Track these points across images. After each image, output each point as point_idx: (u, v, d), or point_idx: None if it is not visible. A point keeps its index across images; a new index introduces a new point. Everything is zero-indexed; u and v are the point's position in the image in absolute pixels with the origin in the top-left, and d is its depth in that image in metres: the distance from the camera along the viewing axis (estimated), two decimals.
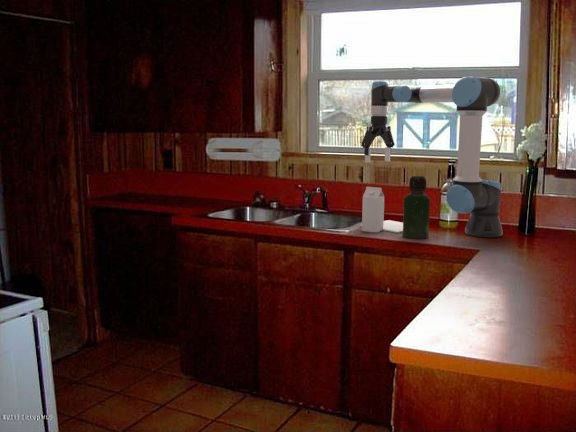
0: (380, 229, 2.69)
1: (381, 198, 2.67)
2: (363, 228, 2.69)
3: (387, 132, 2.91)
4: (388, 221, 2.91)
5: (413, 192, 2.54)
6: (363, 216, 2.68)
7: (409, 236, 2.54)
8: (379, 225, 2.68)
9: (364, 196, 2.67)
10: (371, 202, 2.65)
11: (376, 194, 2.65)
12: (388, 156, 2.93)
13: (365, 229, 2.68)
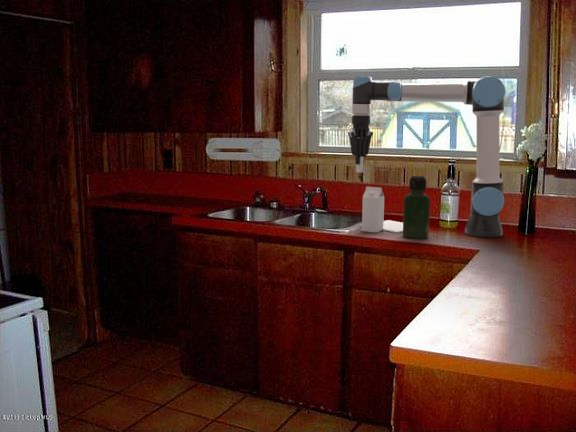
0: (380, 229, 2.69)
1: (381, 198, 2.67)
2: (363, 228, 2.69)
3: (367, 136, 2.61)
4: (388, 221, 2.91)
5: (413, 192, 2.54)
6: (363, 216, 2.68)
7: (409, 236, 2.54)
8: (379, 225, 2.68)
9: (364, 196, 2.67)
10: (371, 202, 2.65)
11: (376, 194, 2.65)
12: None
13: (365, 229, 2.68)
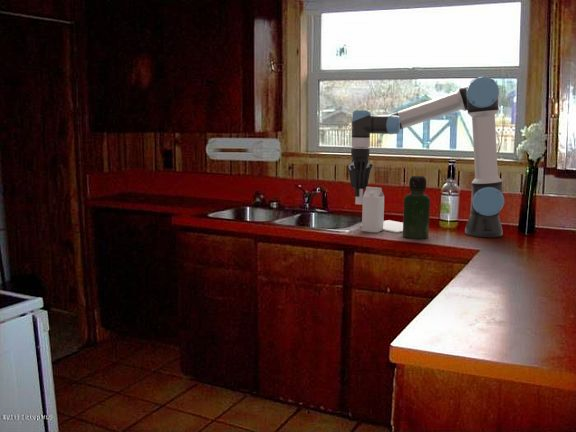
0: (380, 229, 2.69)
1: (381, 198, 2.67)
2: (363, 228, 2.69)
3: (366, 169, 2.63)
4: (388, 221, 2.91)
5: (413, 192, 2.54)
6: (363, 216, 2.68)
7: (409, 236, 2.54)
8: (379, 225, 2.68)
9: (364, 196, 2.67)
10: (371, 202, 2.65)
11: (376, 194, 2.65)
12: None
13: (365, 229, 2.68)
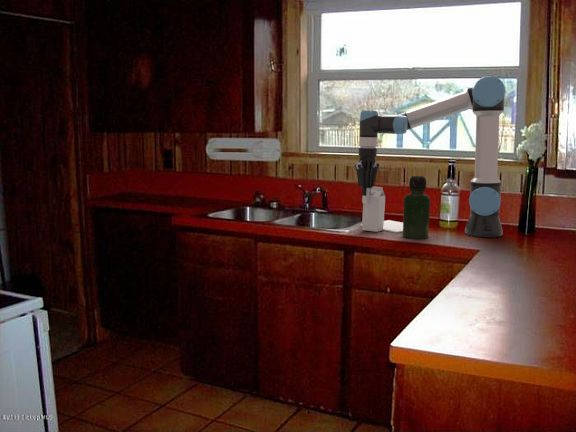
0: (380, 229, 2.69)
1: (382, 197, 2.67)
2: (363, 227, 2.69)
3: (373, 168, 2.66)
4: (388, 221, 2.91)
5: (413, 192, 2.54)
6: (363, 215, 2.68)
7: (409, 236, 2.54)
8: (379, 225, 2.68)
9: None
10: (372, 201, 2.66)
11: (377, 193, 2.66)
12: None
13: (365, 228, 2.68)
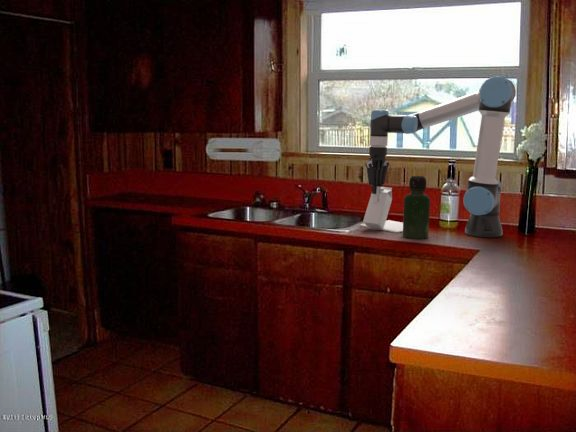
0: (381, 225, 2.69)
1: (389, 197, 2.73)
2: (365, 219, 2.70)
3: (383, 167, 2.70)
4: (388, 221, 2.91)
5: (413, 192, 2.54)
6: (368, 208, 2.71)
7: (409, 236, 2.54)
8: (381, 220, 2.69)
9: None
10: (379, 196, 2.71)
11: (386, 191, 2.73)
12: None
13: (367, 220, 2.69)
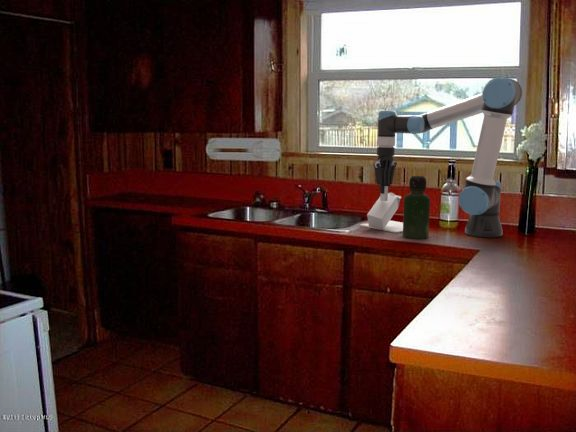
0: (383, 223, 2.70)
1: (396, 203, 2.77)
2: (370, 213, 2.71)
3: (391, 167, 2.73)
4: None
5: (413, 192, 2.54)
6: (375, 205, 2.73)
7: (409, 236, 2.54)
8: (385, 219, 2.70)
9: None
10: (388, 198, 2.75)
11: None
12: None
13: (371, 214, 2.70)
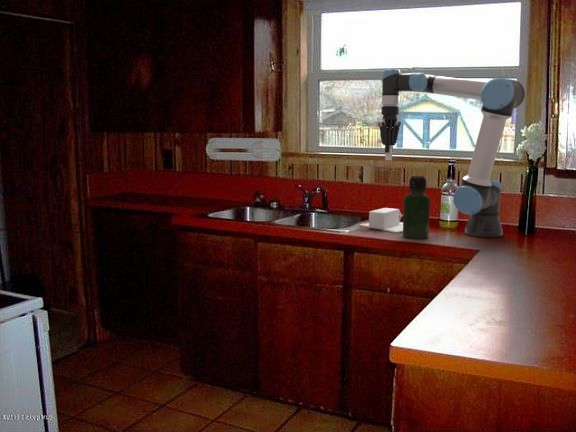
0: (384, 221, 2.71)
1: (398, 217, 2.82)
2: (372, 211, 2.75)
3: (395, 126, 2.75)
4: None
5: (413, 192, 2.54)
6: None
7: (409, 236, 2.54)
8: (386, 218, 2.73)
9: None
10: (391, 209, 2.82)
11: None
12: None
13: (373, 211, 2.74)
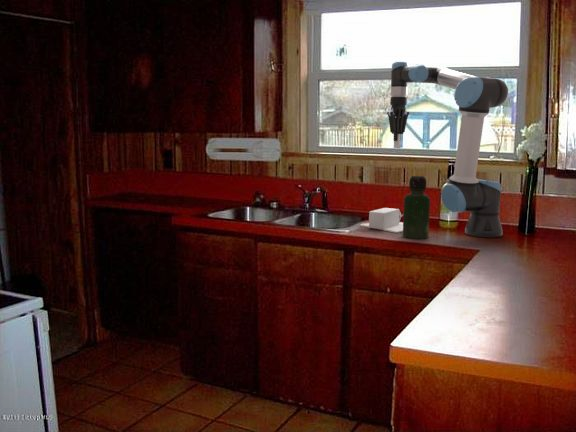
0: (384, 221, 2.71)
1: (398, 217, 2.82)
2: (372, 211, 2.75)
3: (404, 116, 2.91)
4: None
5: (413, 192, 2.54)
6: None
7: (409, 236, 2.54)
8: (386, 218, 2.73)
9: None
10: (391, 209, 2.82)
11: None
12: None
13: (373, 211, 2.74)
